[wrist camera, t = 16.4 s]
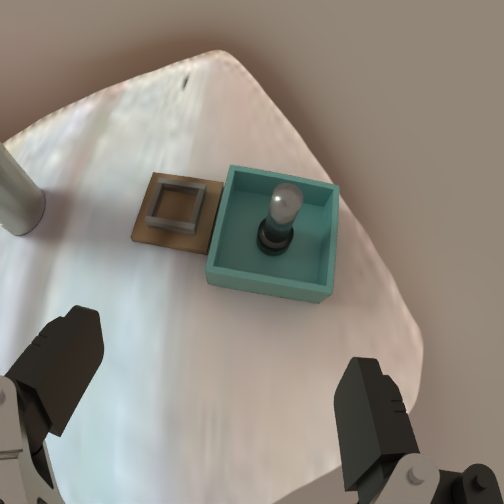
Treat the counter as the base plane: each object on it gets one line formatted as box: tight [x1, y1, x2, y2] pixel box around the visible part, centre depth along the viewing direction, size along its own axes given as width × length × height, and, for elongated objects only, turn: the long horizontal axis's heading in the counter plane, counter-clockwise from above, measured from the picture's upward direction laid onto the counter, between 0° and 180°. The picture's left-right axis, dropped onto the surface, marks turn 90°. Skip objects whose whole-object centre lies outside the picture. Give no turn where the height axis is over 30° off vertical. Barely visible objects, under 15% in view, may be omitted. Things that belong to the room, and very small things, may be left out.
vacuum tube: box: [256, 183, 303, 256], centre depth 38 cm, size 5×5×12 cm
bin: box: [205, 165, 339, 304], centre depth 42 cm, size 15×15×6 cm
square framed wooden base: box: [131, 172, 223, 255], centre depth 44 cm, size 11×11×3 cm
